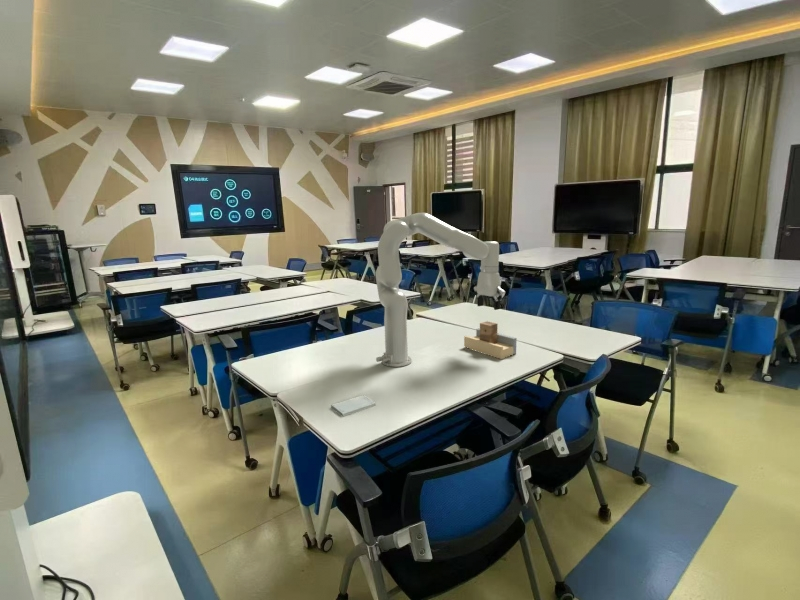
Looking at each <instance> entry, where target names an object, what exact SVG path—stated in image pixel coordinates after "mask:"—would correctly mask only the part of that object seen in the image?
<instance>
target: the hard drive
mask: <svg viewBox="0 0 800 600" xmlns="http://www.w3.org/2000/svg"><path fill="white" fill-rule="evenodd" d="M376 405H377V404H376V402H375V401H374V400H372V399H371V398H369V397H368V396H366V395H363V394H362V395H360V396H356V397H353V398H350V399H347V400H344V401H341V402H337V403H334V404H332V405H330V409H332V410H333V411H334V412H336V413H337V414H338V415H339V416H341V417H346V416H350V415H352V414H355V413H357V412H358V413H359V412H360V411H364V410H367V409H369V408H372V407H376Z"/></svg>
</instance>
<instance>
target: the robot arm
mask: <svg viewBox="0 0 800 600" xmlns="http://www.w3.org/2000/svg"><path fill="white" fill-rule="evenodd" d="M415 234H420V235H423V236H425V237H427V238H429V239H430V240H433V241H435V242H436V243H439V244H440V245H442V246H445V247H448V248H452V249H455V250H457V251H459V252H462V254H463V255H464V256H465V257H466V258H468V259H470V260H471V259H472V260H478V261H479V260H480V266H479V269H480V272H479V273H478V278H477V283H476V285H475V286H474V287H473V290H474V294H475V295H476V298H477V307H482V306H484V296H486V297H487V296H488V297H493V299H494V302H493V303H494V304H493V310H494V311H497V310H500V309H501V301H502V299H504V296H505V294H506V291H505V290H504V289H502V288H501V278H500V277H501V276H500V273H499V263H500V261H499V260H500V244H499V242H498V241H491V240H490V241H489V240H488V241H487V240H486V241H483V240H481V239H478V238H477V237H475V236H473V235H471V234H468V233H467V232H464V231H462V230H460V229H458V228H456V227H454V226H451V225H450V224H448V223H446V222H444V221H442V220H440V219H439V218H437V217H435V216H434V215H432V214H430V213H427V212H416V213H413V214H409V215H406V216H404V217H400V218H396V219H393V220H389V221H388V222H387V223H385V225H384V227H383V233H382V234H381V236H380V238H379V241H378V245H377V257H378V266H377V268H376V271H375V280H376V281H375V282H376V286H377V287H376V288H377V295H378V300H379V302H380V305H382V307H384V316H383V317H384V318H383V319H384V320H383V321H384V322H383V324H384V326H383V327H384V344H385V352H383V354H382V355H381V356H377V357H376V358H375V360H376V362H382V364H383V365H385V366H387V367H393V368H394V367H399V368H400V367H404V366H408V365H410V364H411V363H412V357H411V356H409V353H408V324H407V323H408V320H407V319H408V305H409V304H408V302H409V301H408V299H407V296H406V295H405V293H404V292H403V291H401V290H400V288H399V285H400V284H401V282H402V279H403V275H402V274H403V273H402V269H401V268H402V267H401V260H400V254H399V253H400V252H399V251H400V247H401V244H402V243H403V242H404V241H405V240H406V239H407V238H408V237H410V236H411V237H412V236H413V235H415Z"/></svg>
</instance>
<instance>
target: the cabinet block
mask: <svg viewBox="0 0 800 600" xmlns="http://www.w3.org/2000/svg"><path fill="white" fill-rule="evenodd" d="M479 328H480V340H482V341H486V342H489V343H493V344H495V343H497V333H498V323H496V322H492V321H488V320H487V321H484V322H480V323H479Z"/></svg>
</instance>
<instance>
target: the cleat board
mask: <svg viewBox="0 0 800 600" xmlns="http://www.w3.org/2000/svg"><path fill="white" fill-rule="evenodd" d="M475 330H476V331H475V332H476V333H475V336H472V337H471V336H467V335H463V336H464V337H463V338H464V339H463V343H464V344H463V347H464V346H465V347H468V348H470V349H469V350H471V349H473V350H472V351H474V350H476V351H475V352H477V351H479V352H478V353H480V352H482V353H481V354H483V353H485V354H484V355H486V354H489V355H492V356H494V357H493V358H495V357H497V358H496V359H498V358H500V360H503V359H506V358H508V357H507V356H509V357H511V356H510V355H512V356H514V355H513V354H515V355H516V354H517V337H514V336H511V335H507V334H502V333H499V332H497V343H495V344H493V343H489V342H486V341H482V340H480V327H479V328H476V329H475ZM489 355H488V356H489ZM492 356H491V357H492ZM505 357H506V358H505ZM502 358H503V359H502Z"/></svg>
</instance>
